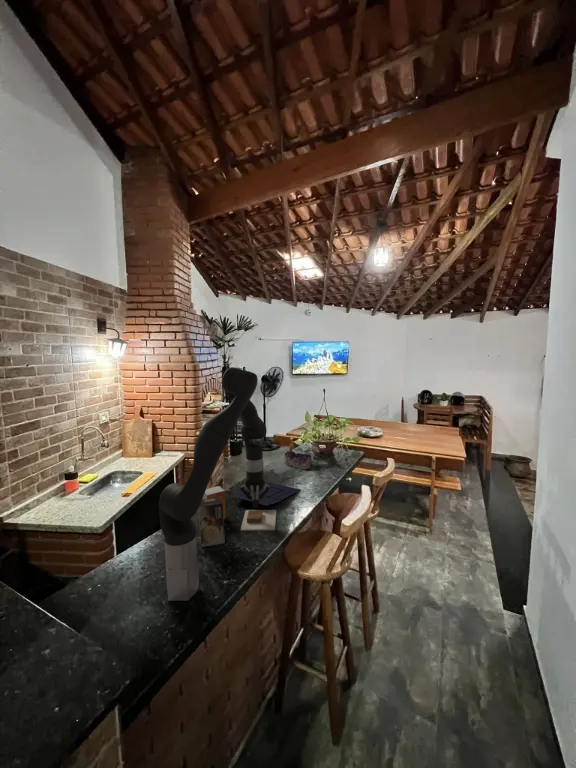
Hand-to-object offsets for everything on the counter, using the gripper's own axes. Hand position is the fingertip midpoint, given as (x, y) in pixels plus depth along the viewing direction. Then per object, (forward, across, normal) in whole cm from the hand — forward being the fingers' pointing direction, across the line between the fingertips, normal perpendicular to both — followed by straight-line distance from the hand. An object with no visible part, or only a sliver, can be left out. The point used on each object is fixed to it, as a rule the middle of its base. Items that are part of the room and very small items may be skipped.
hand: (255, 507), depth 142 cm
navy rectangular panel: (+6, -3, -24) cm, 25 cm away
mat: (+6, -2, 0) cm, 6 cm away
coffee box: (+6, +16, +15) cm, 22 cm away
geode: (+6, -20, -66) cm, 69 cm away
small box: (+6, +18, -2) cm, 20 cm away
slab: (+4, 0, -4) cm, 6 cm away
